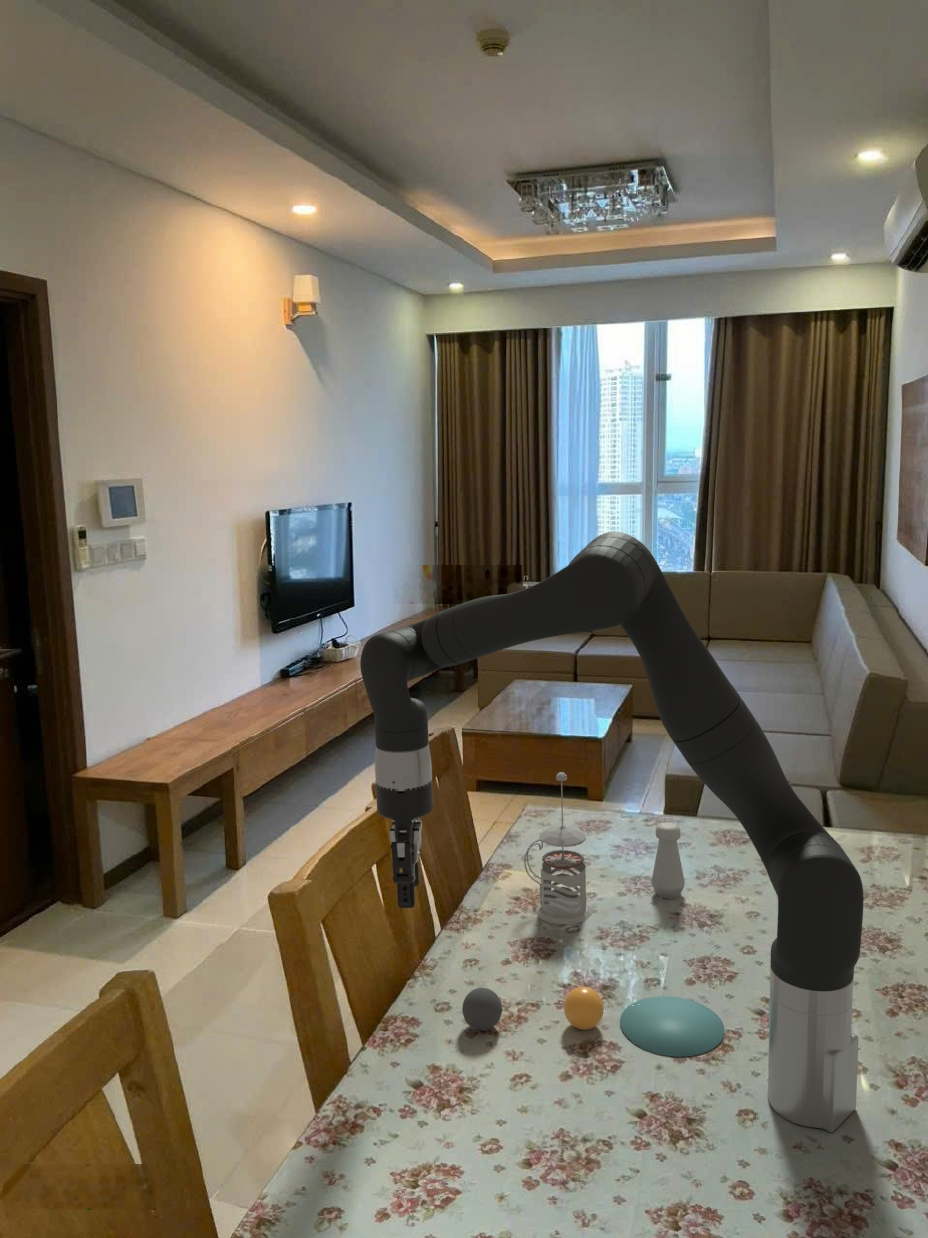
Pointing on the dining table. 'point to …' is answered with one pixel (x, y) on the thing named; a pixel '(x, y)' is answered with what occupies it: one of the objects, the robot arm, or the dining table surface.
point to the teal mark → (672, 1026)
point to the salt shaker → (668, 863)
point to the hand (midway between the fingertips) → (408, 895)
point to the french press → (561, 874)
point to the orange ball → (583, 1008)
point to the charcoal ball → (482, 1009)
